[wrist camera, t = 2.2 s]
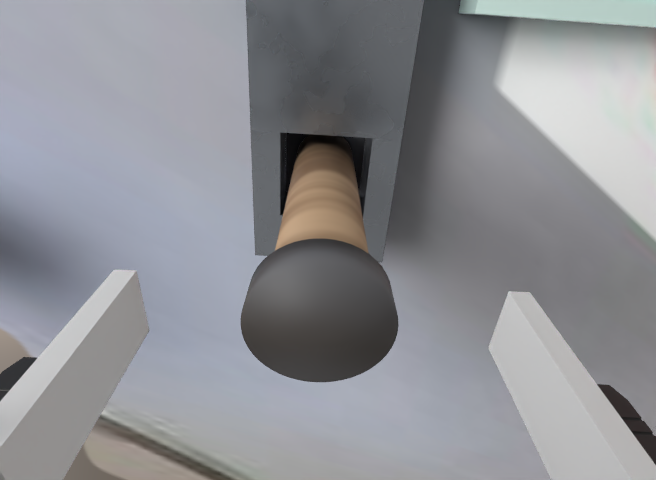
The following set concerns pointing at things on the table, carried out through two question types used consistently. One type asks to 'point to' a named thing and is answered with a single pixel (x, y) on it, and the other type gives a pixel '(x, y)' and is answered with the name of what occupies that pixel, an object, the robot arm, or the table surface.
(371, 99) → the block
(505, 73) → the table surface
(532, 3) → the tray
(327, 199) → the pin
